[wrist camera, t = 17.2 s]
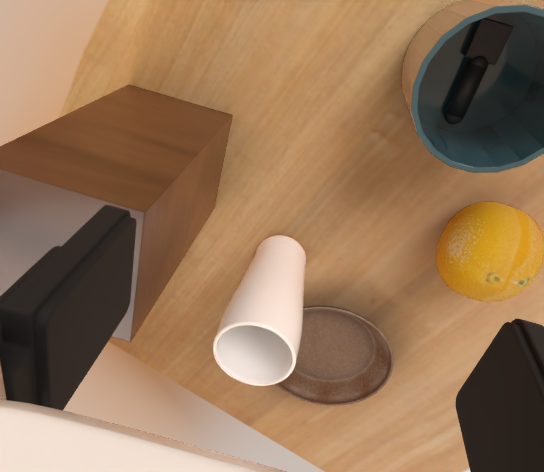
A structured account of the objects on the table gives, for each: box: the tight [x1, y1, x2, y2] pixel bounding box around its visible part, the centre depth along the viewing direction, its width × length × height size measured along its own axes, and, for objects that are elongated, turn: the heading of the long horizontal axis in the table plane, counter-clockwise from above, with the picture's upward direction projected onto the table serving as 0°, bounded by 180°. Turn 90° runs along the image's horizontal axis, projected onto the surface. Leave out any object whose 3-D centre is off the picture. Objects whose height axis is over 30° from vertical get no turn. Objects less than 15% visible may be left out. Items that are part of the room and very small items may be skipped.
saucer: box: [276, 306, 394, 405], centre depth 52 cm, size 15×15×3 cm
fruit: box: [436, 202, 544, 302], centre depth 40 cm, size 9×8×8 cm
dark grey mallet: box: [444, 18, 513, 124], centre depth 36 cm, size 8×2×2 cm, turn 166°
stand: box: [0, 85, 232, 342], centre depth 36 cm, size 10×10×20 cm
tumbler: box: [402, 0, 544, 173], centre depth 33 cm, size 10×10×9 cm
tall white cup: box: [213, 235, 306, 386], centre depth 42 cm, size 7×7×15 cm
